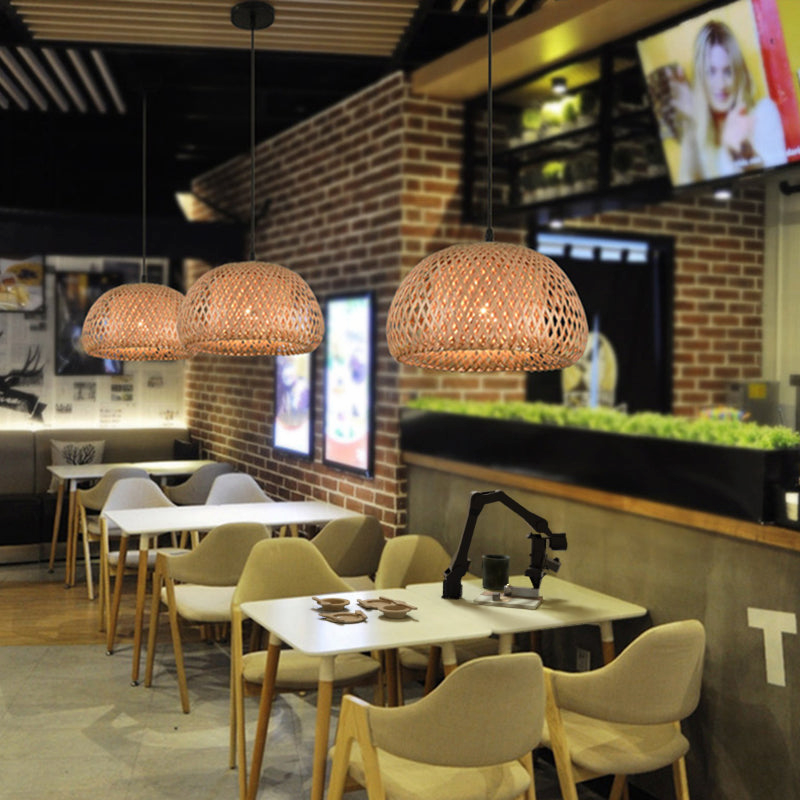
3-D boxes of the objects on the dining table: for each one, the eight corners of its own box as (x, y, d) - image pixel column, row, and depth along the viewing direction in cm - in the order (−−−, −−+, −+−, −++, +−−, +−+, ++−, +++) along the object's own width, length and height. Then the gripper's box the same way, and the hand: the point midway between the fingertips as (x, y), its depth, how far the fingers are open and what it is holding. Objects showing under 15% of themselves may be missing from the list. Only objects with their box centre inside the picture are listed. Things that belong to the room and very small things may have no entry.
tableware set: (391, 601, 370) (391, 589, 370) (428, 619, 344) (428, 607, 344) (299, 607, 355) (299, 595, 355) (330, 627, 329) (330, 614, 329)
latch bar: (502, 595, 376) (503, 585, 376) (504, 593, 380) (505, 583, 379) (537, 598, 372) (538, 588, 372) (539, 596, 376) (539, 586, 376)
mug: (491, 591, 390) (492, 559, 390) (470, 584, 403) (471, 553, 403) (515, 589, 396) (516, 558, 395) (494, 582, 408) (494, 552, 408)
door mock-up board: (473, 603, 367) (473, 593, 367) (484, 594, 384) (484, 585, 384) (534, 609, 361) (535, 599, 361) (542, 599, 378) (543, 590, 378)
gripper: (555, 556, 369) (554, 599, 369) (564, 548, 386) (563, 590, 387) (524, 553, 372) (523, 596, 372) (535, 546, 390) (533, 587, 390)
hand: (537, 592), depth 380 cm, fingers closed
